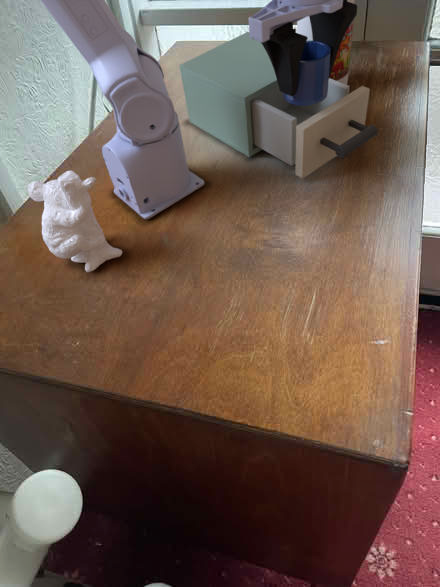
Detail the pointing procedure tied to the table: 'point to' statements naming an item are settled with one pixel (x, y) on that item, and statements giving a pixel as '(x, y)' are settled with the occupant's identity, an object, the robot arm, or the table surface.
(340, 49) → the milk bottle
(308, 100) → the cup
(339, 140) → the drawer
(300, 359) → the table surface
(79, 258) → the koala figurine
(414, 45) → the table surface
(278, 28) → the robot arm
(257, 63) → the mint green cabinet
